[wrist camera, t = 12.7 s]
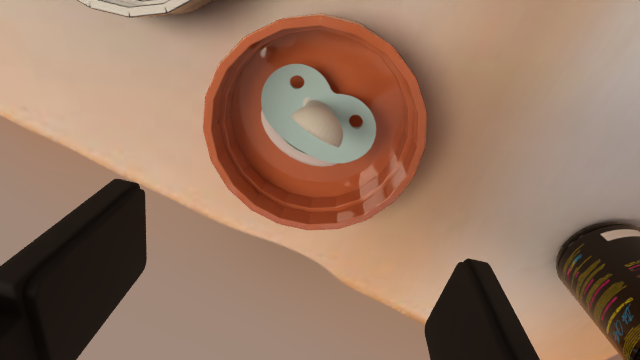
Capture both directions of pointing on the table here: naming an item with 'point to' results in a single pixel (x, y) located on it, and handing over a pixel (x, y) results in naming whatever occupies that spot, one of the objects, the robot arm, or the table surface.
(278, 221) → the terracotta bowl
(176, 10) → the charcoal bowl
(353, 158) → the pacifier
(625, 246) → the supplement container
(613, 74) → the table surface
